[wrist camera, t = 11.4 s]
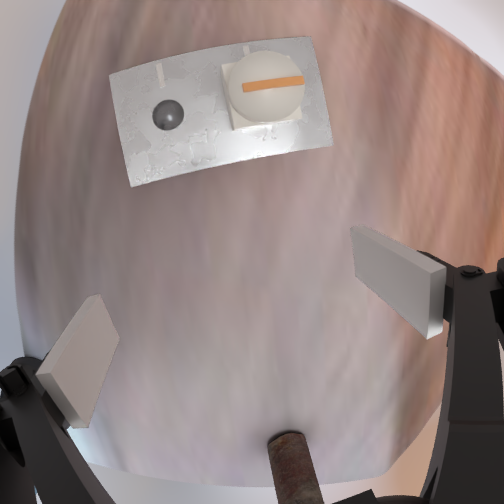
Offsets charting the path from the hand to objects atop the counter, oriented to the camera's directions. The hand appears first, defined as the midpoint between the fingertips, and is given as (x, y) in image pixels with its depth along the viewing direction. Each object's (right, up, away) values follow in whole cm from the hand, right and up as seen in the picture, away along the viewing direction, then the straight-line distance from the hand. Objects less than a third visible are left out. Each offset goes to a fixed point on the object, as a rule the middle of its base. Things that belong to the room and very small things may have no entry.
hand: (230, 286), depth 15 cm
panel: (-3, +18, +18) cm, 26 cm away
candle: (+7, -34, +36) cm, 50 cm away
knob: (+2, +19, +17) cm, 26 cm away
